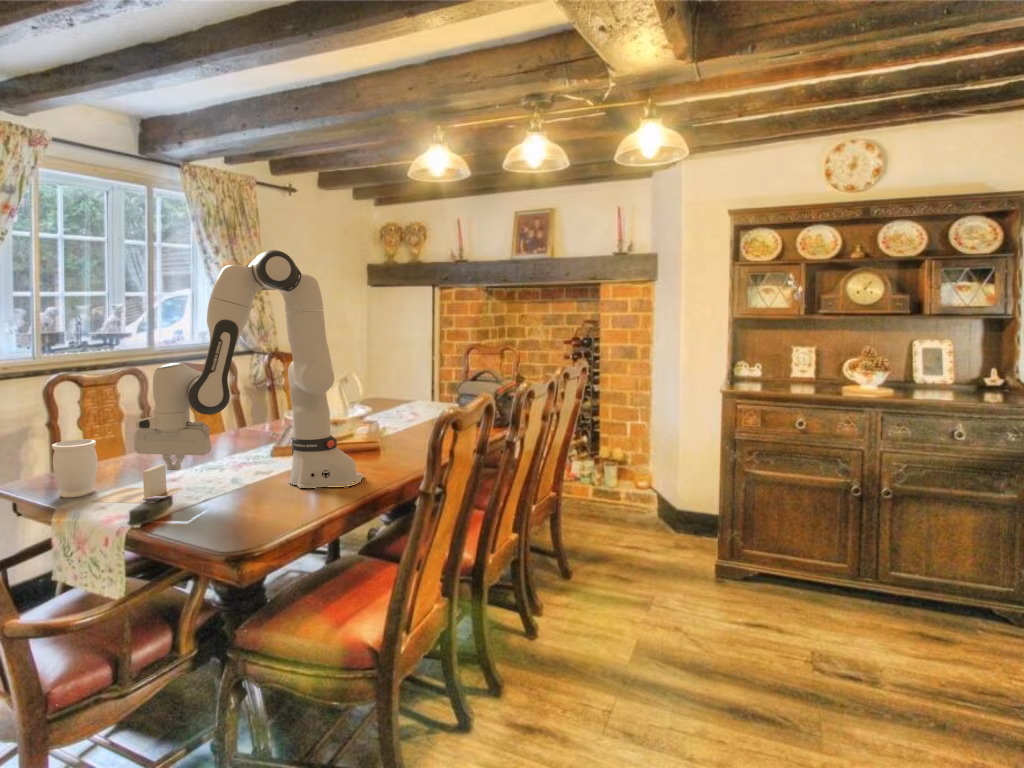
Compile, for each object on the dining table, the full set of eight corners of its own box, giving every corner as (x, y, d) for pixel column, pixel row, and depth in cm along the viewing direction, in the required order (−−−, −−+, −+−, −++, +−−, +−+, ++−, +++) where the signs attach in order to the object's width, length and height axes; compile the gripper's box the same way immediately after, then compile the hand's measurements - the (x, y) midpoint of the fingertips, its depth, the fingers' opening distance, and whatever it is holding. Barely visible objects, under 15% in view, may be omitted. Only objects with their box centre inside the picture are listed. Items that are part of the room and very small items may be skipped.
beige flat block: (166, 491, 180) (165, 464, 179) (150, 499, 172) (148, 471, 171) (160, 491, 180) (159, 464, 179) (143, 499, 172) (142, 471, 171)
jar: (73, 488, 184) (70, 438, 183) (107, 488, 184) (104, 439, 182) (45, 499, 174) (41, 446, 172) (82, 499, 173) (78, 447, 172)
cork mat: (183, 490, 183) (183, 488, 183) (155, 505, 169) (154, 503, 169) (123, 489, 184) (123, 487, 184) (90, 504, 170) (89, 502, 170)
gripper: (214, 420, 176) (216, 468, 178) (143, 418, 177) (145, 466, 178) (203, 424, 170) (204, 473, 172) (129, 422, 171) (131, 471, 172)
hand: (174, 469), depth 175 cm, fingers closed
